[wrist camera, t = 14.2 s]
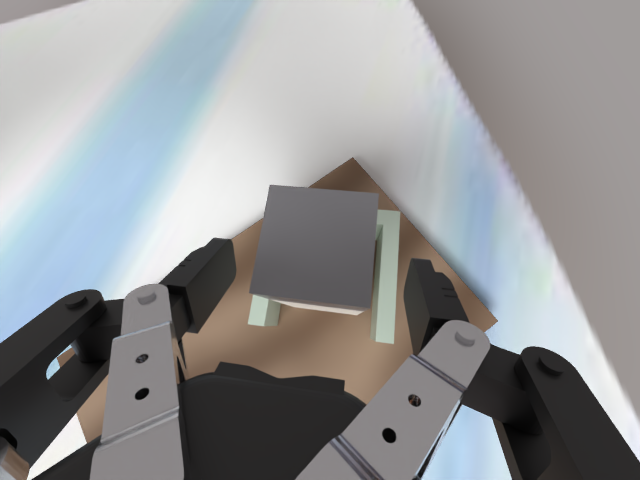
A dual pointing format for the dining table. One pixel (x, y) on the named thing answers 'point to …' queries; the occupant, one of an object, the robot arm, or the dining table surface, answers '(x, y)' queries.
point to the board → (306, 321)
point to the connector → (317, 249)
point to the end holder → (383, 292)
